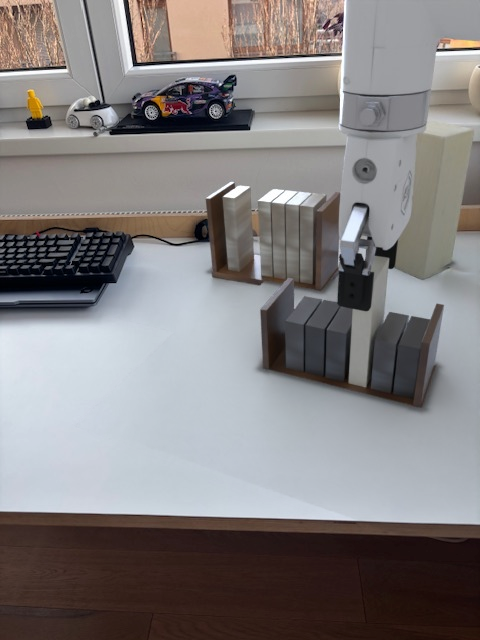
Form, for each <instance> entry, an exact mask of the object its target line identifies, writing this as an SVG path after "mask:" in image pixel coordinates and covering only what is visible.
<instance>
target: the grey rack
mask: <svg viewBox="0 0 480 640" xmlns="http://www.w3.org/2000/svg"><path fill="white" fill-rule="evenodd" d="M444 309H445V304H442V303H436V304H435V306H434V309H433V311H432V314H431V317H430V318H425V317H419V316H415V315H411V316H410V315H409V314H404V313H398V312H393V311H388V313H387V315H386V317H385V319H384V321H383V325H382V327H381V329H380V331H379V333H378V335H377V337H376V339H375V344H374V356H373V368H372V376H371V378H370V380H369V382H368V384H367V386H366V387H362V386H358V385H354V384H350V383H349V366H350V348H351V330H352V313H353V309H351V308H346V307H341V306H339V305H338V304H337V301H333V300H328V299H322V298H317V297H311V296H305V295H304V296H303V297H302V298H301V300H300V301H299V302H298V304H297V305H295V286H294V279H292V278H288V279H287V280H286V281H285V282H284V283H283V284H280V287H278V289H277V290H276V291H275V292H273V294H272V296H270V298H269V299H268V300H267V301H266V302H265V303H264V305H262V307H261V308H260V310H259V313H260V335H261V354H262V357H261V358H262V366H261V369H265V370H268V371H272V372H275V373H280V374H285V375H288V376H293V377H296V378H300V379H303V380H308V381H312V382H316V383H319V384H324V385H328V386H332V387H336V388H338V389H339V388H340V389H344V390H347V391H352V392H356V393H359V394H364V395H367V396H372V397H376V398H378V399H379V398H380V399H384V400H388V401H392V402H395V403H398V404H399V403H400V404H404V405H408V406H412V407H415V408H419V409H423V408H424V405H425V402H426V398H427V396H428V393H429V389H430V386H431V383H432V380H433V377H434V374H435V370H436V368H437V365H436V358H437V352H438V347H439V340H440V334H441V327H442V321H443V315H444Z"/></svg>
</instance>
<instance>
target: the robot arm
mask: <svg viewBox="0 0 480 640" xmlns="http://www.w3.org/2000/svg"><path fill="white" fill-rule="evenodd" d="M343 10H344V11H343V31H342V32H343V33H342V51H341V71H340V91H339V92H340V93H339V95H340V96H339V113H338V114H339V115H338V131H339V132H340V133H343V134H345V135H346V141H345V148H344V157H343V165H342V174H341V186H340V193H341V194H340V208H339V249H340V250H339V251H340V253H339V255H338V268H339V274H338V281H337V297H336V298H337V299H336V302H337V304H338V305H339V306H341V307H346V308H351V309H356V310H361V311H369V309H370V308H371V302H372V292H373V281H374V272H371V268H372V264H373V260H374V256H379V257H386V258H389V267H388V270H393V269H395V267H394V266H395V263H396V255H397V246H398V238H399V237H400V235H401V233H402V232H403V230H404V229H405V227H406V225H407V223H408V222H409V219H410V216H411V211H412V199H413V187H414V175H415V163H416V148H417V134H421V133H423V132H424V131H425V130H426V126H427V121H428V119H429V109H430V102H431V96H432V86H433V79H434V71H435V64H436V58H437V57H436V56H437V55H436V54H437V49H438V42H439V41H441V40H443V39H449V40H450V39H451V40H457V41H469V42H470V41H471V42H480V0H344V9H343ZM362 236H363V237H366V239H365V238H362ZM360 249H363V250H365V257H364V256H363V254H362V253H361V252H359V250H360Z"/></svg>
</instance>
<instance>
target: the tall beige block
mask: <svg viewBox="0 0 480 640" xmlns="http://www.w3.org/2000/svg"><path fill="white" fill-rule="evenodd" d="M474 135H475V129H474V128H471V127H468V126H467V127H466V126H463V125H456V124H451V123H447V122H446V123H445V122H439V121H436V120H427V126H426V130H425V131H424V132H423V133H421V134H417V148H416V163H415V175H414V187H413V199H412V211H411V216H410V219H409V222H408V223H407V225H406V227H405V229H404V230H403V232H402V233H401V235H400V237H399V238H398V246H397V255H396V263H395V266H394V269H397V270H400V271H402V272H404V273H406V274H409V275H410V276H412V277H415V278H418V279H420V280H426V279H428V278H431V277H432V276H435V275H438V274H440V273H442V272H443V271H446V270H448V269H450V268H451V267H450V266H447V265H449V264H452V261H453V257H454V256H453V255H454V250H455V244H456V238H457V234H458V233H457V232H458V228H459V220H460V216H461V210H462V203H463V197H464V193H465V186H466V180H467V175H468V170H469V163H470V158H471V152H472V147H473V143H474V142H473V141H474Z"/></svg>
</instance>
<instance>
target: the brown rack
mask: <svg viewBox="0 0 480 640" xmlns="http://www.w3.org/2000/svg"><path fill="white" fill-rule="evenodd" d="M251 191H252V190H251V186H247V185H238V186H236V182H235V181H230V182H228V183H227V184H225V185H224V186H222V187H221V188H219V189H217V190H216V191H215V192H213V193H211V194H210V195H208V196H207V197H205V206H206V218H207V228H208V237H209V238H208V239H209V248H210V257H211V268H212V270H211V276H212V278H217V279H222V280H227V281H234V282H237V283H238V282H240V283H244V284H248V285H249V284H251V285H255V286H261V285H262V284H263V283H264V282H269V283H274V284H279V285H282V284H283V283H284V282H285V281H286V280H287V279H288V278H292V279H294V287H296V288H302V289H308V290H313V291H319V292H323V291H324V289H325V288H326V286H328V283H329V282H330V281H331V280H333V281H334V280H336V278H337V277H338V276H339V255H340V253H339V252H340V250H339V249H340V239H339V208H340V194H341V191H339V192H336V191H335V192H334V193H333V194H332V195H331V196H330V197H329V198H328V199H327V194H326V193H318V192H309V191H307V192H306V191H295V190H284V189H277V188H273V189H271V190H270V191H268V192H267V193H266V194H265V195H263V196H262V197H261V198H260V199H258V200H257V216H258V237H259V240H258V241H259V254H255V246H254V230H253V228H254V226H253V209H252V208H253V207H252V192H251Z"/></svg>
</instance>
